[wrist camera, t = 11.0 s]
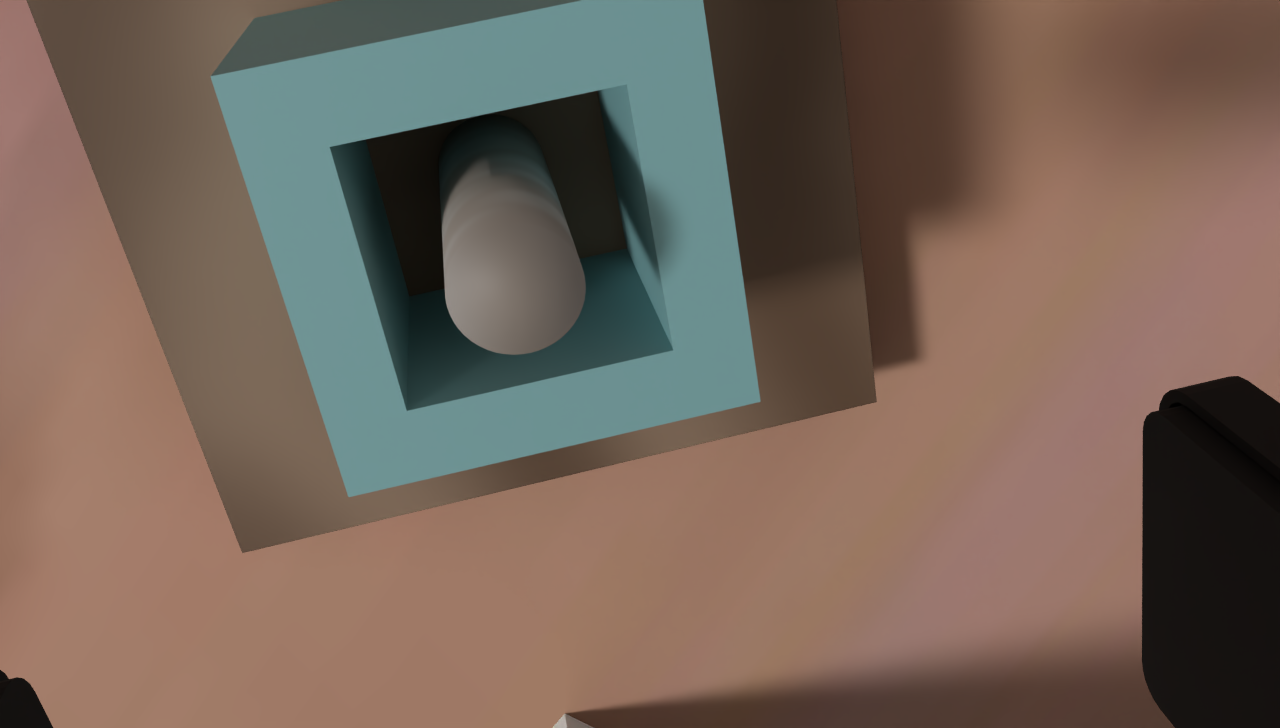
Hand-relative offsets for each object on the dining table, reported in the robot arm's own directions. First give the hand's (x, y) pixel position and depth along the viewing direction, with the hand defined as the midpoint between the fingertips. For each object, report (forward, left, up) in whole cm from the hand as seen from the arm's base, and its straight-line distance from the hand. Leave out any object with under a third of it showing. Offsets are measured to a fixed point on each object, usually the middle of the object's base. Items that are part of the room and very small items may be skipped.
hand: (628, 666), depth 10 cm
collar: (0, 0, -15) cm, 15 cm away
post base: (0, 0, -16) cm, 16 cm away
